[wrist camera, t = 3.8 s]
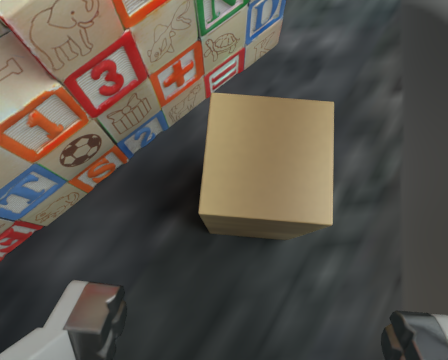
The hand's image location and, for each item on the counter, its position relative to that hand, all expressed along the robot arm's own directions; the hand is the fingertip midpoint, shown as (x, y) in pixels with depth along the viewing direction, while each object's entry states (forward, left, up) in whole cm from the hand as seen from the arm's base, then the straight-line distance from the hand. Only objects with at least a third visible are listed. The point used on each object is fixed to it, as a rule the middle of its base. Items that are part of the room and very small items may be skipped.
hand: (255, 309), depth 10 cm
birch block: (0, +5, -9) cm, 10 cm away
